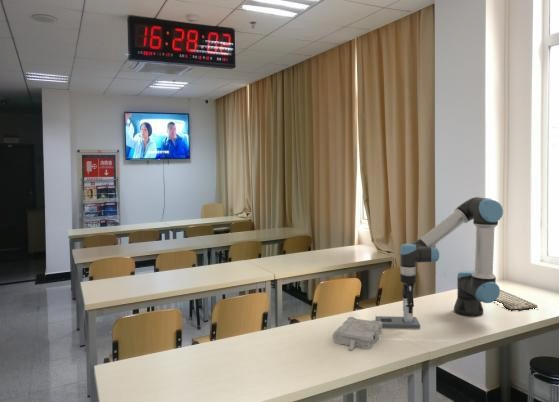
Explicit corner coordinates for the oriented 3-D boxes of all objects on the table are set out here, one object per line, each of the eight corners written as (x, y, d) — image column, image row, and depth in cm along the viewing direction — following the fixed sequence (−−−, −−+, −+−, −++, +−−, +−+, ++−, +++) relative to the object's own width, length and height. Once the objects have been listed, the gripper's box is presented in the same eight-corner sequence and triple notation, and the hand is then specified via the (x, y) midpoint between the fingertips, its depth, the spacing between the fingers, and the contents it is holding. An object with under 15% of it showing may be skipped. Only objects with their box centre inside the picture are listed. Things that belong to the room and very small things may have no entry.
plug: (411, 323, 234) (411, 302, 233) (412, 325, 230) (412, 305, 229) (403, 322, 235) (403, 302, 234) (404, 325, 231) (404, 305, 230)
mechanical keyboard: (472, 294, 287) (472, 289, 287) (499, 292, 290) (500, 287, 290) (511, 313, 250) (511, 307, 250) (542, 311, 253) (542, 305, 253)
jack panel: (415, 321, 238) (415, 316, 237) (420, 329, 226) (420, 324, 226) (375, 320, 240) (375, 316, 240) (377, 328, 228) (377, 323, 228)
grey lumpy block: (328, 347, 206) (328, 331, 206) (347, 327, 231) (347, 313, 231) (369, 355, 198) (370, 338, 197) (384, 334, 223) (384, 319, 222)
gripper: (397, 268, 243) (397, 307, 245) (404, 280, 219) (404, 322, 220) (411, 268, 242) (411, 307, 244) (420, 280, 218) (419, 323, 219)
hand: (407, 314), depth 232 cm, fingers open, 13 cm apart
